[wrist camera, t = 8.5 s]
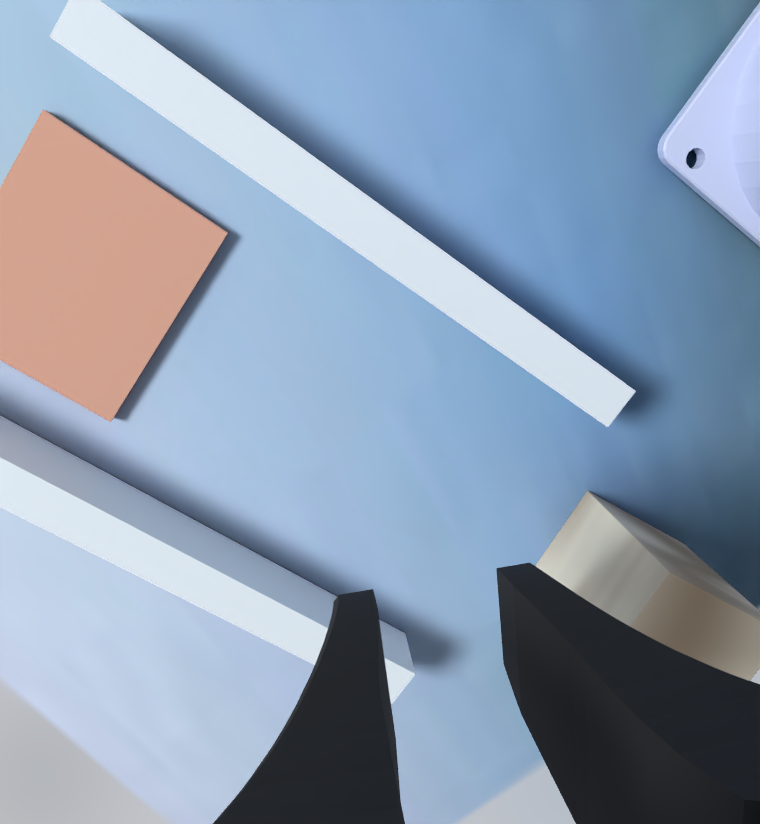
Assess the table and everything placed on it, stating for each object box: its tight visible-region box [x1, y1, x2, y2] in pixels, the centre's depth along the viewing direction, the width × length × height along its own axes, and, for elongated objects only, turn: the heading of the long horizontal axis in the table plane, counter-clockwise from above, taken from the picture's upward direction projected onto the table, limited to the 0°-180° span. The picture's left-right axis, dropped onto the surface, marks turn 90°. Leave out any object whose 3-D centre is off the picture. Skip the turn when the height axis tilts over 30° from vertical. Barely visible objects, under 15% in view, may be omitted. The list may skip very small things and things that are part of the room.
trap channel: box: [0, 0, 636, 704], centre depth 18 cm, size 16×11×2 cm
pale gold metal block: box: [536, 491, 760, 681], centre depth 20 cm, size 4×5×5 cm
